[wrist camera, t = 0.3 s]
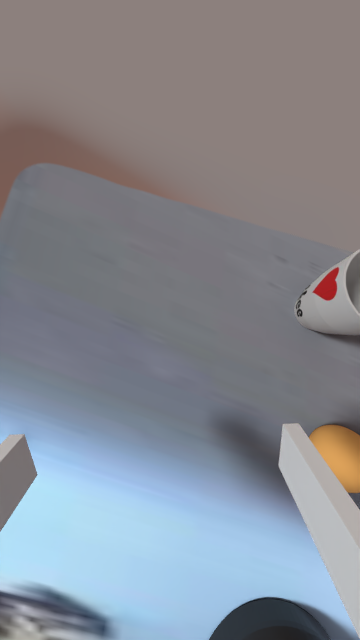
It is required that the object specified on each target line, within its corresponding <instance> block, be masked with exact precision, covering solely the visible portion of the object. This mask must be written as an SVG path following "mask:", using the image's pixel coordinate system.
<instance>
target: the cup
mask: <svg viewBox="0 0 360 640" xmlns="http://www.w3.org/2000/svg"><path fill="white" fill-rule="evenodd" d="M294 311H295V316H296V318H297V320H298V321H299V323H300V324H301V325H302V326H304V327H305V328H307V329H310V330H314V331H318V332H322V333H327V334H341V335H360V249H359V250H358V251H356V252H355V253H353V254H352V255H350V256H349V257H347V258H345V259H344V260H342V261H341V262H339V263H338V264H336V265H335V266H333V267H332V268H330V269H329V270H327V271H326V272H324V273H323V274H322V275H321V276H320V277H319V278H317V279H316V280H315V281H314V282H313V283H312V284H310V285H309V286H308V287H307V288H306V289H305V290H304V292H303V293H302V294H301V296H300V297H299V298H298V300H297V301H296V303H295V308H294Z"/></svg>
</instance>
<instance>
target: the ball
mask: <svg viewBox="0 0 360 640" xmlns="http://www.w3.org/2000/svg"><path fill="white" fill-rule="evenodd" d="M309 439H310V441H311V442H312V443H313V445H314V446H315V448H316V449H317V450H318V452H319V453H320V455H321V456H322V457H323V459H324V460H325V462H326V463H327V465H328V466H329V467H330V469H331V470H332V472H333V473H334V474H335V476H336V477H337V479H338V480H339V481H340V483H341V484H342V486H343V487H344V489H345V490H346V491H347V492H348V493H360V435H358V434H357V433H355V432H354V431H352V430H350V429H348V428H345V427H342V426H339V425H324V426H321V427H318V428H317V429H315V430H314V431H313V432H312V433H311V434H310V436H309Z"/></svg>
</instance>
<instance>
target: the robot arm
mask: <svg viewBox="0 0 360 640" xmlns="http://www.w3.org/2000/svg"><path fill="white" fill-rule="evenodd" d="M278 466H279V468H280V470H281V472H282V475H283V477H284V479H285V481H286V483H287V485H288V487H289V489H290V492H291V494H292V496H293V498H294V500H295V502H296V504H297V506H298V509H299V511H300V513H301V515H302V517H303V519H304V521H305V524H306V526H307V528H308V530H309V532H310V534H311V536H312V538H313V541H314V543H315V545H316V547H317V549H318V551H319V553H320V555H321V558H322V560H323V562H324V564H325V566H326V568H327V570H328V572H329V575H330V577H331V579H332V581H333V583H334V585H335V587H336V590H337V592H338V594H339V596H340V598H341V600H342V602H343V604H344V607H345V609H346V611H347V613H348V615H349V617H350V619H351V621H352V624H353V626H354V628H355V630H356V632H357V634H358V636H359V638H360V510H359V508H358V507H357V505H356V504H355V503H354V501H353V500H352V498H351V497H350V496H349V494H348V493H347V491H346V490H345V489H344V487H343V486H342V484H341V483H340V481H339V480H338V479H337V477H336V476H335V474H334V473H333V472H332V470H331V469H330V467H329V466H328V465H327V463H326V462H325V460H324V459H323V457H322V456H321V455H320V453H319V452H318V450H317V449H316V448H315V446H314V445H313V443H312V442H311V441H310V439H309V438H308V436H307V435H306V434H305V432H304V431H303V429H302V428H301V426H300V425H299V424H298V423H297V424H283V429H282V438H281V447H280V456H279V465H278ZM36 476H37V472H36V469H35V466H34V463H33V459H32V456H31V453H30V450H29V447H28V444H27V441H26V438H25V435H24V434H21V435H9V436H8V437H7V438H6V439H5V440H4V441H3V442H2V443H1V444H0V531H1V530H2V528H3V527H4V525H5V524H6V522H7V521H8V519H9V518H10V516H11V514H12V513H13V511H14V510H15V508H16V507H17V505H18V504H19V502H20V501H21V499H22V498H23V496H24V495H25V493H26V492H27V490H28V488H29V487H30V485H31V484H32V482H33V481H34V479H35V478H36ZM209 640H331V639H330V637H329V636H328V634H327V633H326V631H325V630H324V629H323V627H322V626H321V625H320V624H319V623H318V622H317V621H316V619H314V618H313V617H312V616H311V615H310V614H309V613H307V612H306V611H305V610H303V609H302V608H300V607H298V606H296V605H294V604H292V603H289V602H286V601H282V600H276V599H263V600H257V601H253V602H250V603H247V604H245V605H243V606H241V607H239V608H237V609H236V610H234V611H233V612H232V613H230V614H229V615H228V616H227V617H226V618H225V619H224V620H223V621H222V622H221V623H220V624H219V626H218V627H217V628H216V629H215V631H214V632H213V634H212V636H211V637H210V639H209Z"/></svg>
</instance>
